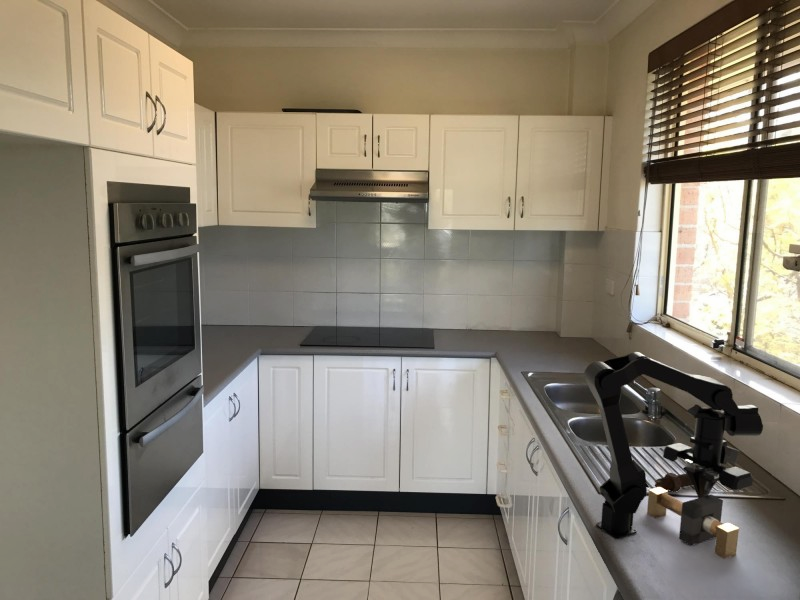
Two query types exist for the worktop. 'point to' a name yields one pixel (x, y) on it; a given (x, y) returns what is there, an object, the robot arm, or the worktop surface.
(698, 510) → the dark grey square ring
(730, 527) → the square head rod
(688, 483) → the bolt
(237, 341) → the worktop surface
